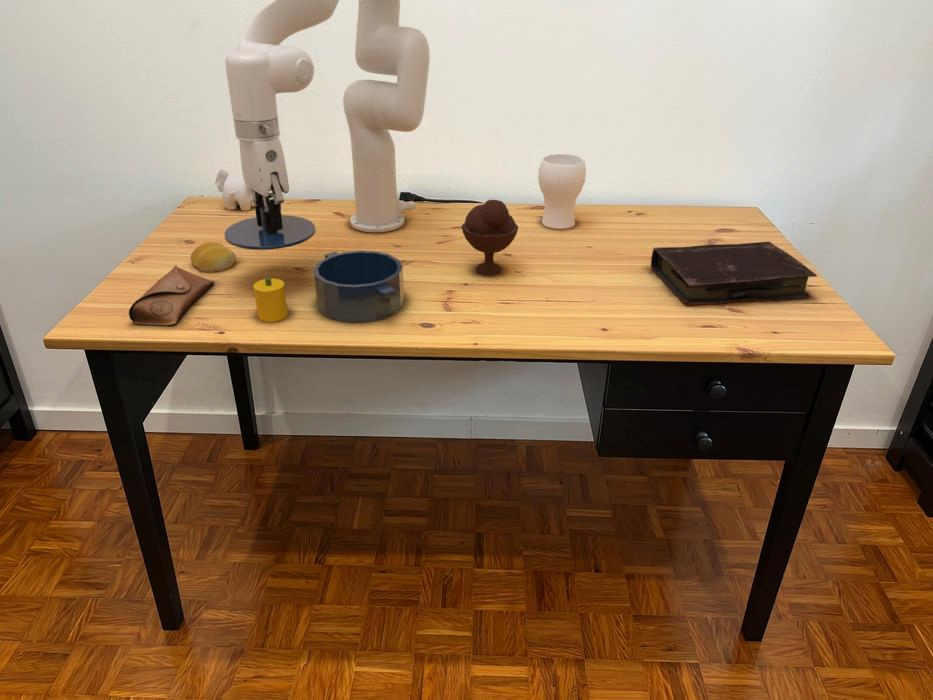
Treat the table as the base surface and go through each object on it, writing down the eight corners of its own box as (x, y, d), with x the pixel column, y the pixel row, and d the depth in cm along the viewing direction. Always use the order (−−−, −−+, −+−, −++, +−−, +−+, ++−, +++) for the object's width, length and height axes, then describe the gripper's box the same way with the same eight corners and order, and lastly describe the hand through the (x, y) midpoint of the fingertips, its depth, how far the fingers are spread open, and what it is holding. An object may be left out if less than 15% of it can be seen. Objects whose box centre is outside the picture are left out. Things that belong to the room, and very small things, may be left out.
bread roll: (205, 276, 143) (201, 257, 141) (186, 262, 148) (183, 244, 146) (244, 265, 147) (241, 247, 145) (225, 252, 153) (221, 234, 151)
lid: (291, 214, 147) (288, 187, 144) (331, 239, 135) (329, 210, 133) (211, 232, 138) (206, 203, 135) (247, 260, 127) (242, 229, 124)
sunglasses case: (177, 324, 125) (151, 293, 122) (148, 340, 127) (121, 310, 124) (217, 280, 140) (194, 251, 137) (190, 295, 142) (167, 267, 140)
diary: (649, 267, 148) (652, 244, 146) (762, 261, 152) (768, 238, 149) (686, 309, 132) (691, 284, 130) (812, 300, 136) (819, 276, 133)
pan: (367, 273, 145) (365, 240, 141) (428, 312, 130) (427, 276, 127) (296, 293, 136) (291, 259, 133) (352, 337, 122) (349, 300, 119)
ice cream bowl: (521, 263, 149) (525, 192, 142) (506, 285, 140) (509, 211, 133) (472, 256, 152) (473, 186, 145) (454, 277, 143) (454, 204, 136)
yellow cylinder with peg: (280, 305, 132) (275, 269, 128) (293, 316, 129) (288, 279, 125) (253, 313, 129) (247, 277, 126) (265, 325, 126) (259, 287, 122)
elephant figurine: (271, 198, 183) (267, 164, 178) (251, 215, 173) (245, 178, 168) (236, 196, 184) (230, 161, 180) (213, 212, 174) (207, 176, 169)
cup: (588, 221, 171) (594, 157, 164) (568, 234, 163) (574, 169, 156) (548, 212, 176) (552, 150, 168) (527, 225, 168) (530, 161, 161)
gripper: (297, 134, 123) (308, 236, 132) (257, 116, 134) (270, 211, 143) (256, 140, 119) (270, 245, 128) (218, 121, 130) (233, 219, 139)
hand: (270, 226), depth 136 cm, fingers closed on lid, 2 cm apart
